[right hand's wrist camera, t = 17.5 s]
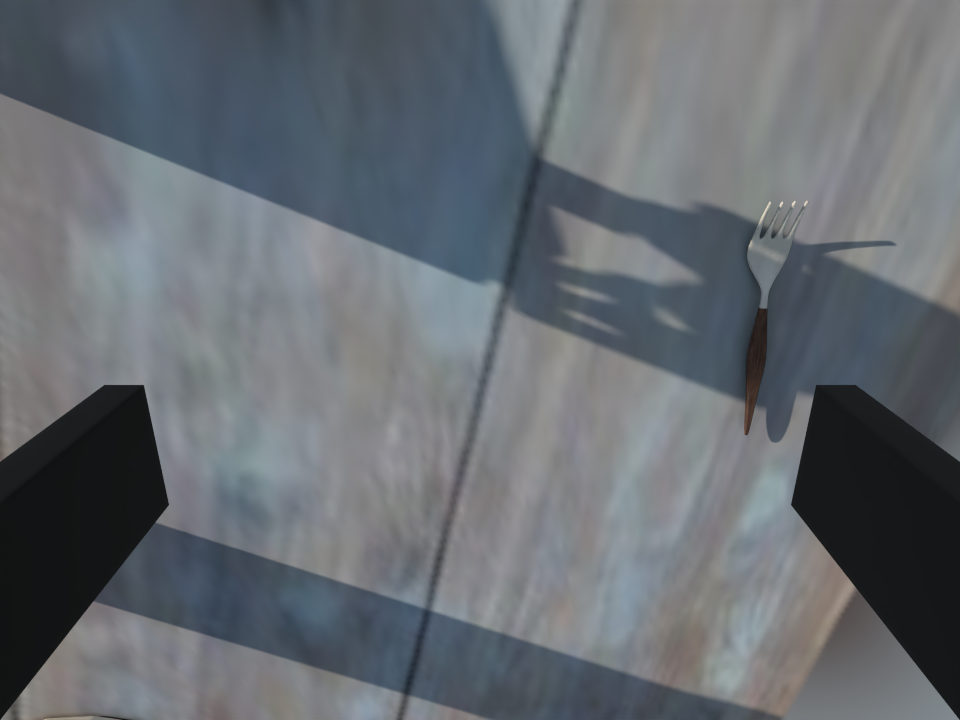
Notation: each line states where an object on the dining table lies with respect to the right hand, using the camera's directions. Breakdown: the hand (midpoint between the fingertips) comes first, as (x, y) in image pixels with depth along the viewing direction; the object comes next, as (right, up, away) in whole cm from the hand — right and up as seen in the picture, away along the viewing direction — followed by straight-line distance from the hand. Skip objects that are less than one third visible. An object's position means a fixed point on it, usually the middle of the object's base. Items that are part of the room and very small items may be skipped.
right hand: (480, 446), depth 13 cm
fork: (+18, +4, +29) cm, 34 cm away
